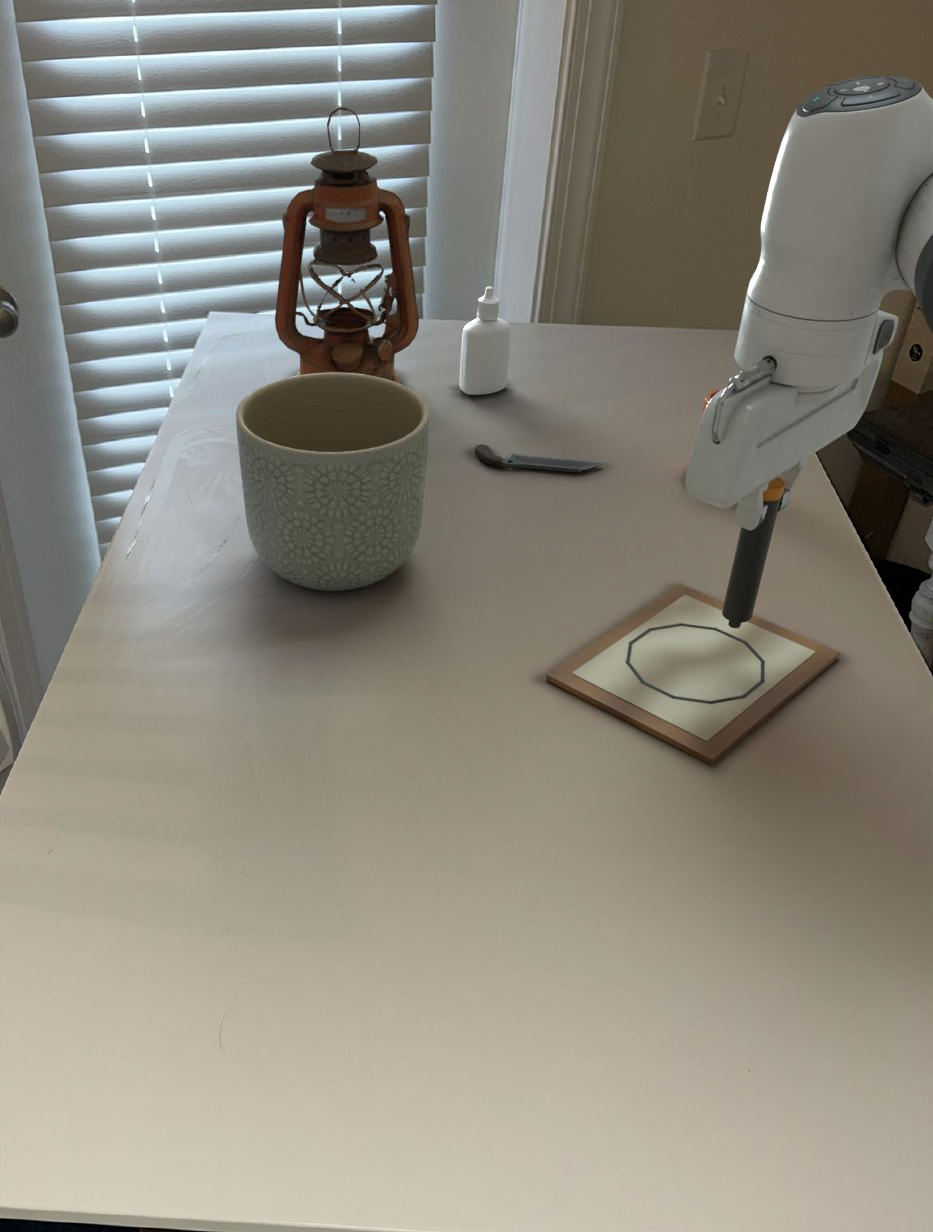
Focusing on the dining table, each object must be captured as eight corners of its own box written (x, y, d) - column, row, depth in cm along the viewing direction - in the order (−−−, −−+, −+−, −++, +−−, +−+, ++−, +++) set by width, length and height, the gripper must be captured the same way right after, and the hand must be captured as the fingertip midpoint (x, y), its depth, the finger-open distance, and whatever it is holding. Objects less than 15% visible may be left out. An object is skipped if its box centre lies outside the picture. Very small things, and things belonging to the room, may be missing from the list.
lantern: (274, 405, 146) (261, 123, 127) (280, 361, 156) (270, 94, 137) (418, 405, 146) (427, 123, 126) (415, 362, 156) (424, 94, 136)
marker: (755, 625, 103) (791, 481, 95) (739, 637, 102) (774, 492, 93) (729, 613, 104) (762, 471, 96) (713, 625, 103) (744, 481, 95)
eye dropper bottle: (460, 380, 151) (465, 280, 143) (506, 383, 151) (514, 282, 143) (458, 395, 148) (463, 293, 140) (505, 397, 147) (513, 295, 140)
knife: (471, 465, 134) (471, 459, 133) (476, 449, 137) (476, 443, 136) (602, 477, 132) (603, 471, 131) (604, 460, 135) (605, 454, 134)
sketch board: (838, 658, 106) (841, 650, 106) (711, 765, 95) (713, 757, 95) (678, 588, 115) (680, 581, 114) (545, 679, 104) (546, 672, 104)
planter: (237, 610, 112) (225, 453, 102) (254, 519, 125) (245, 371, 115) (424, 613, 112) (431, 454, 102) (422, 521, 125) (427, 372, 115)
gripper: (765, 396, 80) (724, 581, 89) (910, 314, 91) (861, 486, 100) (682, 369, 84) (650, 550, 93) (831, 293, 95) (790, 461, 104)
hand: (761, 516), depth 96 cm, fingers closed on marker, 2 cm apart
